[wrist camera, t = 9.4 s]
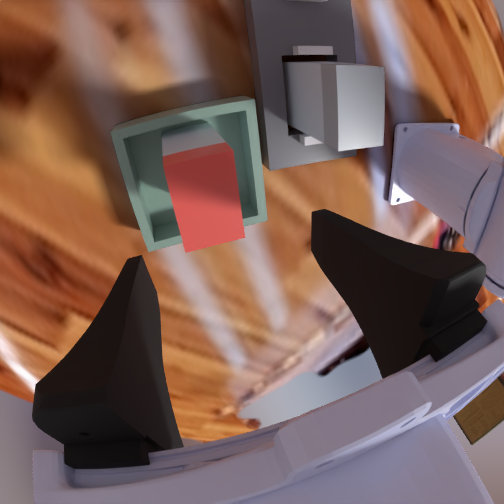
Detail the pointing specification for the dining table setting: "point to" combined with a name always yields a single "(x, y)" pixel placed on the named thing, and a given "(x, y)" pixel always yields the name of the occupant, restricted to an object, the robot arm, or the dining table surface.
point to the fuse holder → (271, 70)
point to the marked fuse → (202, 186)
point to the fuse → (336, 102)
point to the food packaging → (483, 411)
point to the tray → (152, 171)
